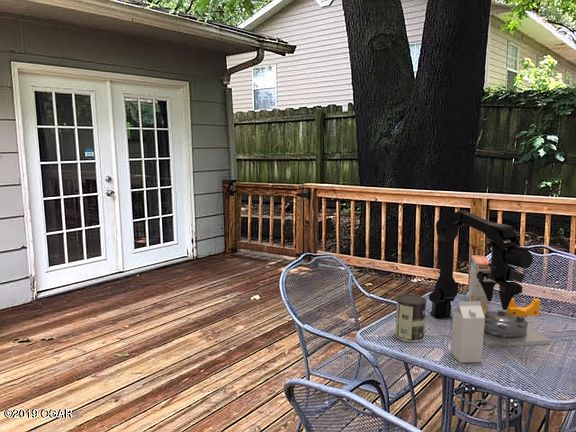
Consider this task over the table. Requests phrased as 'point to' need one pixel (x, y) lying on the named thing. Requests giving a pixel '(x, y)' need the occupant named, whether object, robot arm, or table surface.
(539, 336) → the base plate
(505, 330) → the crank wheel
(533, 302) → the pipe clamp
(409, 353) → the table surface
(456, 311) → the milk carton
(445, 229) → the robot arm
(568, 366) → the table surface
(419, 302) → the coffee can
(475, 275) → the cracker box
